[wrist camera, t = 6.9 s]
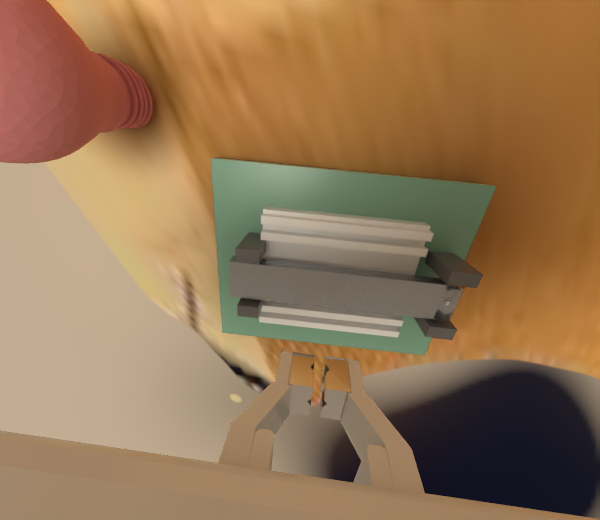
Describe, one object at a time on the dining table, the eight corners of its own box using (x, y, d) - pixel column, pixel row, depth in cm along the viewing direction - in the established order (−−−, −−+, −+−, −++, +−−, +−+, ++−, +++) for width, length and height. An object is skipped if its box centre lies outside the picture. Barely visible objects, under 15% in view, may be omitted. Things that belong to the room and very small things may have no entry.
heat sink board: (482, 183, 18) (540, 194, 13) (418, 343, 24) (441, 387, 20) (218, 157, 18) (186, 159, 14) (227, 322, 25) (207, 361, 20)
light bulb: (124, 171, 19) (-135, 198, 8) (60, 66, 16) (-458, -104, 5) (200, 138, 18) (13, 117, 7) (145, 18, 15) (-321, -345, 4)
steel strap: (457, 278, 18) (470, 289, 16) (443, 310, 19) (454, 324, 17) (234, 254, 18) (227, 263, 16) (235, 287, 19) (228, 298, 18)
